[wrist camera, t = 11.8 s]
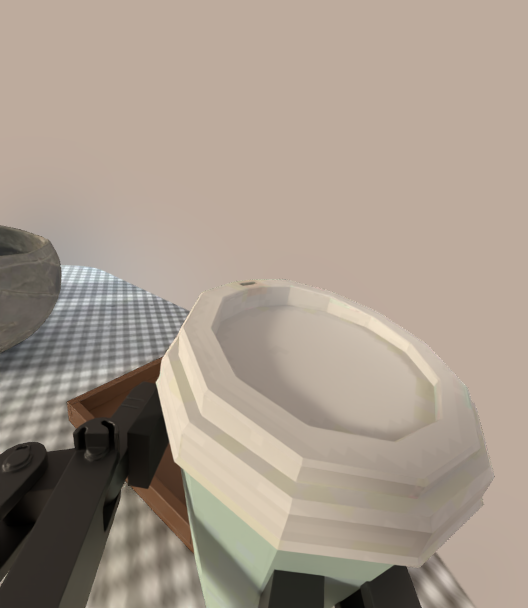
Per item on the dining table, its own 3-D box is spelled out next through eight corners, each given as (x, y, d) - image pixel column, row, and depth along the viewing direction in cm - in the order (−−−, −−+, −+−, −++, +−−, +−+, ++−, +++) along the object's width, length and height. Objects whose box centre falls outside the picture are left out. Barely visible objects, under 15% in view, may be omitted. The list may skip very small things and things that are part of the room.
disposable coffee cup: (382, 578, 15) (535, 363, 9) (234, 902, 8) (553, 818, 2) (258, 443, 21) (304, 268, 16) (114, 544, 14) (102, 283, 8)
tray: (293, 422, 33) (298, 406, 32) (196, 557, 19) (200, 537, 18) (189, 357, 41) (190, 343, 40) (68, 420, 27) (66, 401, 26)
